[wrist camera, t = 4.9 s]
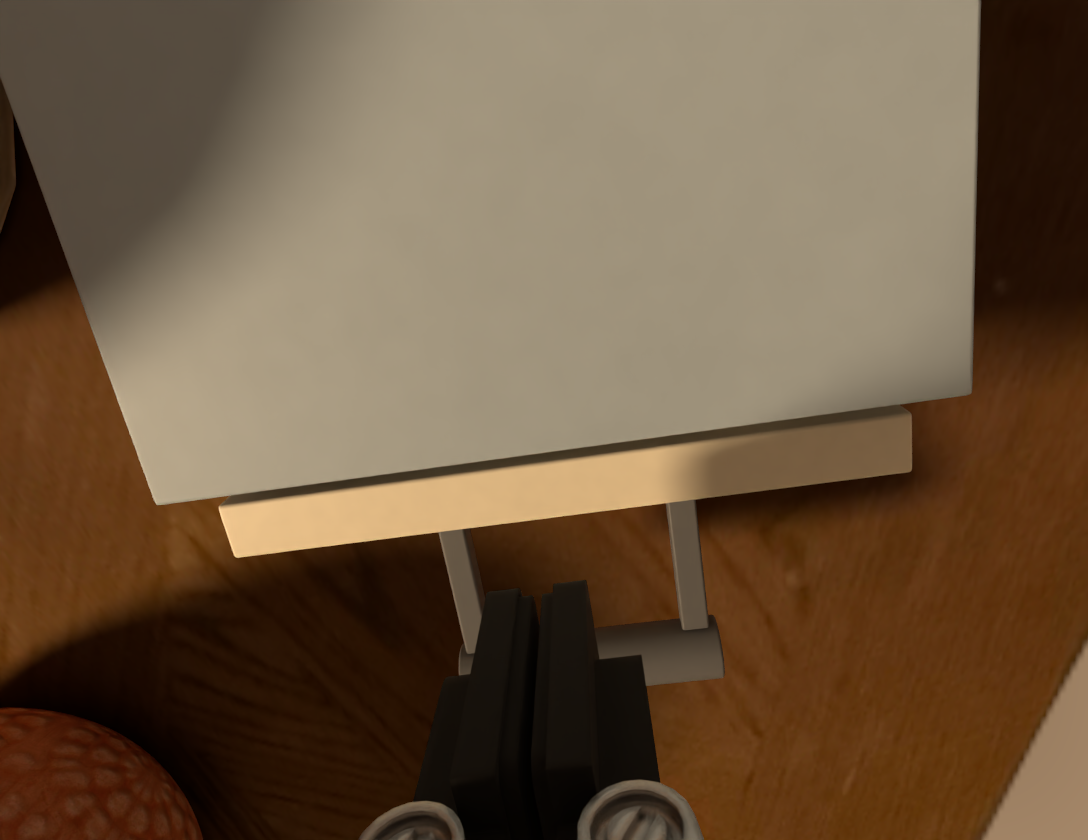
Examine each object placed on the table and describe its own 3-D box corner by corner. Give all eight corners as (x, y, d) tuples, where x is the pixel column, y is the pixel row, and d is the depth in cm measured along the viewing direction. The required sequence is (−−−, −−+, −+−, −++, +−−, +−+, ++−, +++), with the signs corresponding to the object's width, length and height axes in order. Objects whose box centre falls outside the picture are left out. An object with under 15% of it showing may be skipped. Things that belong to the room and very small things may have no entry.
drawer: (831, 570, 20) (914, 701, 15) (366, 623, 21) (301, 761, 16) (794, -256, 14) (909, -488, 9) (160, -114, 16) (-39, -252, 11)
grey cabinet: (833, 316, 19) (974, 395, 12) (296, 396, 20) (154, 507, 13) (804, -412, 14) (1005, -935, 8) (115, -244, 16) (-236, -561, 9)
